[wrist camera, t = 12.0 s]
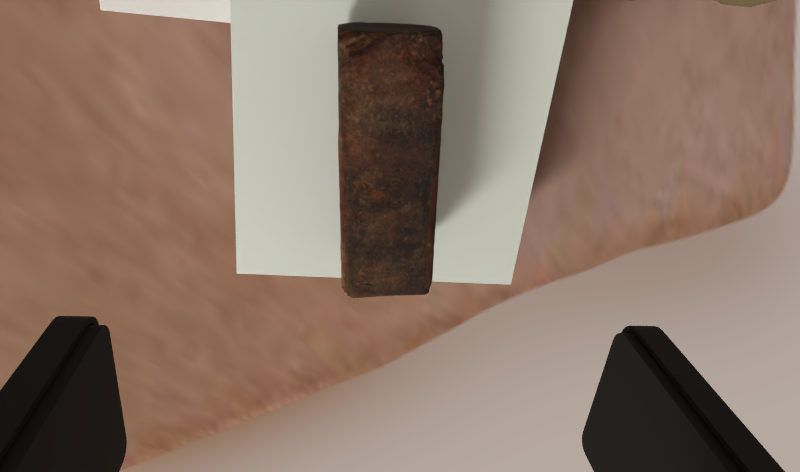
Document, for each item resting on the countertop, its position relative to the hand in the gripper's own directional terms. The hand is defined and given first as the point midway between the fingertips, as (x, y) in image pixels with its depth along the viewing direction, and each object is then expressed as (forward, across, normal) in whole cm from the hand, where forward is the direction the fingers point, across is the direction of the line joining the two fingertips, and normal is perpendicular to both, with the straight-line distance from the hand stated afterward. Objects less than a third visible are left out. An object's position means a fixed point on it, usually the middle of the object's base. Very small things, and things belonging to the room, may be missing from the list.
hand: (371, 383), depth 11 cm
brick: (+17, -2, +1) cm, 17 cm away
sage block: (+22, -2, +1) cm, 23 cm away
